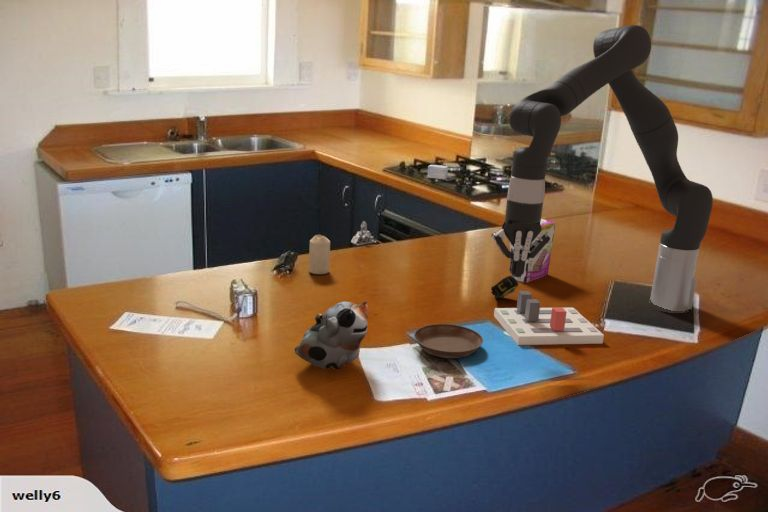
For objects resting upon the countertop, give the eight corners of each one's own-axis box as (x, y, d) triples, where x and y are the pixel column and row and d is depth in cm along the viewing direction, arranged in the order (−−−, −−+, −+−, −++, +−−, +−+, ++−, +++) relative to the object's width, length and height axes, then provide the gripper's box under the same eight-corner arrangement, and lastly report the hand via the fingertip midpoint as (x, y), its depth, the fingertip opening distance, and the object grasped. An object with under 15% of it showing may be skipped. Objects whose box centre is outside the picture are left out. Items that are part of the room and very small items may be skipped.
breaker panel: (572, 315, 186) (575, 288, 184) (602, 343, 170) (607, 314, 168) (493, 315, 182) (496, 288, 180) (517, 344, 166) (521, 315, 164)
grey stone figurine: (366, 238, 242) (367, 214, 240) (381, 245, 235) (382, 221, 233) (342, 241, 237) (343, 217, 235) (356, 248, 230) (357, 224, 228)
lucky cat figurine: (329, 334, 164) (344, 277, 159) (373, 361, 158) (389, 303, 153) (283, 354, 152) (297, 294, 146) (328, 384, 146) (345, 322, 141)
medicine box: (446, 186, 327) (448, 166, 324) (444, 188, 323) (446, 167, 320) (428, 184, 329) (430, 164, 326) (426, 185, 325) (428, 165, 322)
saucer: (412, 360, 156) (413, 348, 155) (413, 332, 170) (414, 321, 169) (484, 365, 156) (485, 353, 155) (479, 337, 170) (480, 326, 169)
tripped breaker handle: (559, 326, 172) (562, 307, 170) (564, 330, 169) (566, 311, 168) (549, 326, 171) (552, 307, 170) (553, 330, 169) (556, 311, 168)
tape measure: (499, 303, 194) (491, 290, 195) (521, 288, 194) (513, 276, 195) (496, 300, 188) (488, 287, 189) (519, 285, 187) (511, 272, 188)
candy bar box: (525, 286, 205) (532, 227, 200) (510, 281, 208) (517, 223, 204) (549, 278, 213) (556, 221, 208) (534, 273, 216) (541, 217, 211)
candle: (332, 273, 206) (334, 237, 203) (314, 275, 203) (315, 239, 200) (323, 267, 210) (324, 232, 207) (305, 269, 207) (306, 234, 204)
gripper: (548, 194, 164) (538, 270, 169) (489, 193, 162) (481, 270, 167) (562, 202, 157) (551, 281, 162) (501, 201, 155) (492, 281, 160)
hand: (516, 275), depth 165 cm, fingers closed
